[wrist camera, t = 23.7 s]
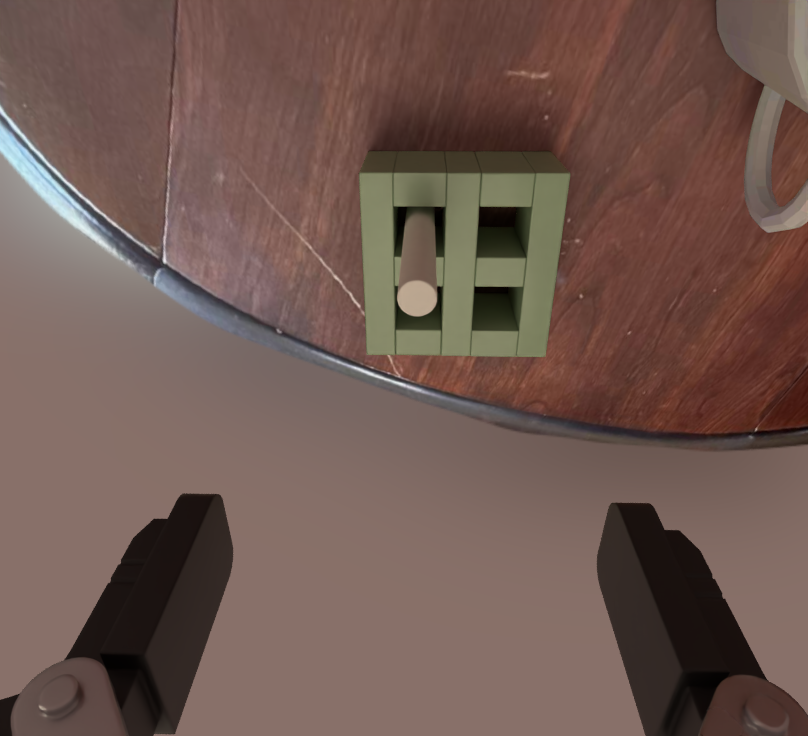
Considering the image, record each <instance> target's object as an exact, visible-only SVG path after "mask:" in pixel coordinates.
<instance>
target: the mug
mask: <svg viewBox="0 0 808 736" xmlns="http://www.w3.org/2000/svg"><path fill="white" fill-rule="evenodd" d="M716 12H717V30H718V33H719V36H720V38H721V41H722V43H723V46H724V48H725V51H726V53H727V54H728V55H729V56H730V57H731V58H732V59H733V61H734V62H735V63H736V64H737V65H738V66H739V67H740V68H741V69H742V70H744V71H745V72H747V73H748V74H750V75H751V76H753V77H754V78H756V79H757V80H759V81H760V82H762V83H763V84H764V87H763V90H762V93H761V96H760V99H759V102H758V105H757V108H756V112H755V115H754V119H753V123H752V127H751V132H750V136H749V141H748V147H747V153H746V159H745V173H744V189H745V201H746V204H747V207H748V210H749V213H750V216H751V217H752V218H753V219H754V220H755V222H756V223H757V224H758V225H759V226H760V227H761V228H762V229H763V230H765V231H766V232H767V233H769V232H775V231H782V230H788V229H794V228H798V227H801V226H802V225H804V224H805V223H806V222H808V179H807V181H806V183H805V184H804V185H803V187H802V188H801V189H800V191H799V192H798V193H797V195H796V196H795V198H793V199H792V200H791V201H790V202H789V203H787V204H786V205H785V206H783V207H779V206H778V205H777V203H776V200H775V197H774V194H773V192H772V181H771V166H772V154H773V148H774V142H775V136H776V132H777V127H778V123H779V119H780V116H781V112H782V109H783V106H784V103H785V100H786V99H787V100H788V101H790V102H791V103H793V104H794V105H796V106H797V107H799V108H800V109H802V110H803V111H805V112H806V113H808V0H716Z"/></svg>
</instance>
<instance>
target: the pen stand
mask: <svg viewBox="0 0 808 736" xmlns="http://www.w3.org/2000/svg"><path fill="white" fill-rule="evenodd" d="M569 181H570V172H569V171H568V170H567V169H566V168H565V167H564V166H563V164H562V163H561V162H560V161H559V160H558V159H557V158H556V157H555V156H554V154H553V153H552V152H548V151H523V152H504V151H476V152H475V153H474V152H473V151H445V152H444V151H398V152H397V151H369V152H368V153H367V156H366V158H365V160H364V163H363V165H362V167H361V170H360V172H359V188H360V211H361V234H362V257H363V280H364V303H365V327H366V350H367V354H368V355H395V354H396V355H442V356H502V357H516V356H517V357H545V356H546V349H547V342H548V335H549V327H550V320H551V313H552V305H553V298H554V291H555V284H556V276H557V269H558V262H559V254H560V247H561V240H562V232H563V225H564V218H565V211H566V203H567V196H568V189H569ZM479 205H480V206H481V207H516V215H515V226H514V227H478V220H479ZM398 207H443V215H442V227H441V226H435V244H436V274H437V286H440V293H437V303H436V306H435V307H434V309H433V310H432V311H431V312H430V313H428V314H426V315H423V316H411V315H409V314H407V313H405V312H404V311H403V310H402V309H401V308H400V306H399V304H398V301H397V293H398V284H399V275H400V266H401V256H402V247H403V238H404V229H405V226H399V227H398ZM474 286H480V287H509V290H508V293H474Z"/></svg>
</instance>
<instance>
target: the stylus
mask: <svg viewBox="0 0 808 736" xmlns="http://www.w3.org/2000/svg"><path fill="white" fill-rule="evenodd" d="M397 301H398V304H399V306H400V308H401V309H402V310H403V311H404V312H405V313H407V314H409V315H411V316H423V315H426V314H428V313H430V312H431V311H432V310H433V309H434V307H435V306H436V303H437V274H436V244H435V214H434V207H407V210H406V219H405V229H404V238H403V247H402V256H401V266H400V275H399V284H398V293H397Z"/></svg>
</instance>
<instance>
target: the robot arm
mask: <svg viewBox="0 0 808 736" xmlns="http://www.w3.org/2000/svg"><path fill="white" fill-rule="evenodd" d="M232 562H233V545H232V540H231V535H230V531H229V526H228V522H227V517H226V513H225V508H224V504H223V500H222V497H221V496H220V495H219V494H182V495H180V497H179V498H178V500H177V501H176V503H175V506H174V508H173V509H172V511H171V513H170V515H169V517H168V519H153V520H152V521H151V522H150V523H149V524H148V525H147V526H146V527H145V528H144V529H142V530H141V531H140V532H139V533H138V534H137V535H136V536H135V537H134V538H133V540H132V541H131V543H130V545H129V547H128V549H127V550H126V552H125V554H124V556H123V558H122V559H121V564H120V565H118V566H117V568H116V570H115V572H114V574H113V575H112V577H111V582H110V583H108V585H107V586H106V588H105V590H104V592H103V593H102V595H101V597H100V599H99V600H98V602H97V604H96V606H95V608H94V610H93V611H92V613H91V615H90V617H89V618H88V620H87V622H86V624H85V626H84V627H83V629H82V631H81V633H80V635H79V636H78V638H77V640H76V642H75V644H74V645H73V647H72V649H71V651H70V652H69V654H68V655H67V657H66V658H65V660H64V661H61V662H59V663H56V664H54V665H52V666H50V667H49V668H47V669H45V670H44V671H43V672H41V673H40V674H38V675H37V676H36V677H35V678H34V679H32V680H31V681H30V682H29V684H28V685H27V686H26V687H25V688H24V689H23V691H22V692H21V693H20V694H18V695H15V696H12V697H9V698H5V699H2V700H0V736H153V735H154V734H175V732H176V729H177V726H178V723H179V720H180V717H181V715H182V712H183V709H184V706H185V703H186V700H187V697H188V694H189V692H190V689H191V686H192V683H193V680H194V677H195V674H196V672H197V669H198V666H199V663H200V660H201V657H202V654H203V652H204V649H205V646H206V643H207V640H208V637H209V634H210V631H211V628H212V625H213V623H214V620H215V617H216V614H217V611H218V608H219V606H220V602H221V600H222V597H223V594H224V591H225V588H226V585H227V582H228V580H229V577H230V573H231V568H232ZM597 573H598V580H599V584H600V588H601V591H602V594H603V598H604V601H605V605H606V608H607V611H608V614H609V618H610V621H611V624H612V627H613V631H614V634H615V637H616V640H617V644H618V647H619V650H620V654H621V657H622V660H623V663H624V667H625V670H626V673H627V676H628V679H629V683H630V686H631V689H632V693H633V696H634V699H635V702H636V706H637V709H638V712H639V715H640V719H641V722H642V725H643V729H644V732H645V735H646V736H808V715H807V714H806V712H805V711H804V709H803V708H802V707H801V706H800V705H799V703H798V702H797V701H796V700H795V699H793V698H792V697H791V696H790V695H789V694H788V693H787V692H785V691H784V690H782V689H781V688H779V687H778V686H776V685H775V684H773V683H771V682H769V681H768V680H767V679H766V677H765V675H764V674H763V672H762V670H761V668H760V666H759V664H758V662H757V660H756V658H755V657H754V654H753V652H752V651H751V649H750V647H749V645H748V643H747V641H746V639H745V637H744V635H743V633H742V631H741V629H740V627H739V625H738V623H737V621H736V619H735V617H734V616H733V614H732V612H731V610H730V608H729V606H728V604H727V602H726V600H725V599H723V597H722V592H721V590H720V588H719V586H718V585H717V583H716V581H715V579H713V578H712V573H711V571H710V569H709V567H708V565H707V564H706V561H705V559H704V557H703V555H702V553H701V551H700V550H699V549H698V548H697V547H696V546H695V545H694V544H693V543H692V542H691V541H690V540H688V538H687V537H686V536H685V535H683V534H682V533H681V532H680V531H679V530H664V528H663V526H662V523H661V521H660V519H659V517H658V515H657V513H656V511H655V509H654V507H653V506H652V505H651V504H649V503H611V505H610V506H609V509H608V513H607V517H606V521H605V525H604V530H603V534H602V538H601V542H600V546H599V550H598V555H597Z"/></svg>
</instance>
